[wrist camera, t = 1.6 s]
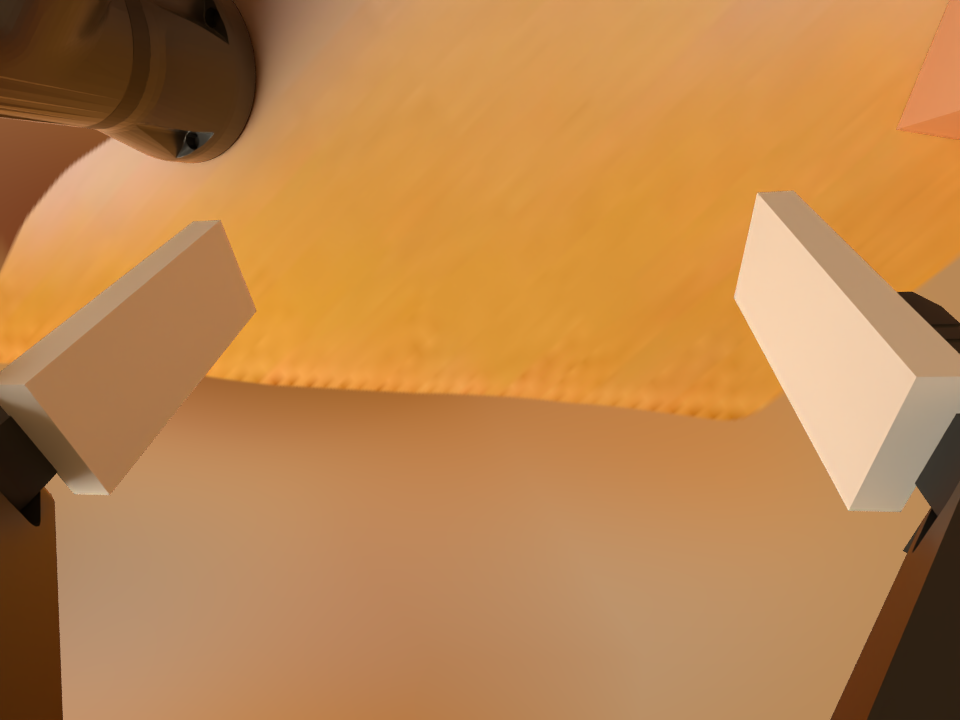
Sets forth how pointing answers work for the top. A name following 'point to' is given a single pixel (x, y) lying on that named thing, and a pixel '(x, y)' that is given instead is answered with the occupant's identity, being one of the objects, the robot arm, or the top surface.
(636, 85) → the top surface
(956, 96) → the tall salmon pillar
